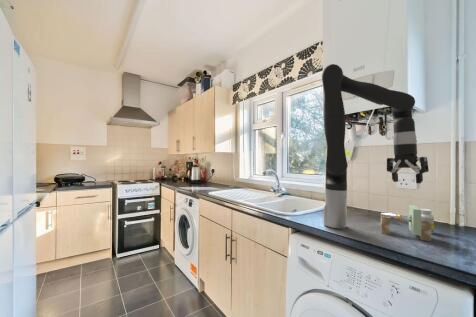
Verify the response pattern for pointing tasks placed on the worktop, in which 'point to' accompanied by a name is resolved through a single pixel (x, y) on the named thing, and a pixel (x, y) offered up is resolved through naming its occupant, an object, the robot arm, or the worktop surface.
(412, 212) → the collar
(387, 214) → the metal pipe
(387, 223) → the pipe stand
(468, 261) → the worktop surface
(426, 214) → the supplement bottle
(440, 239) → the worktop surface
